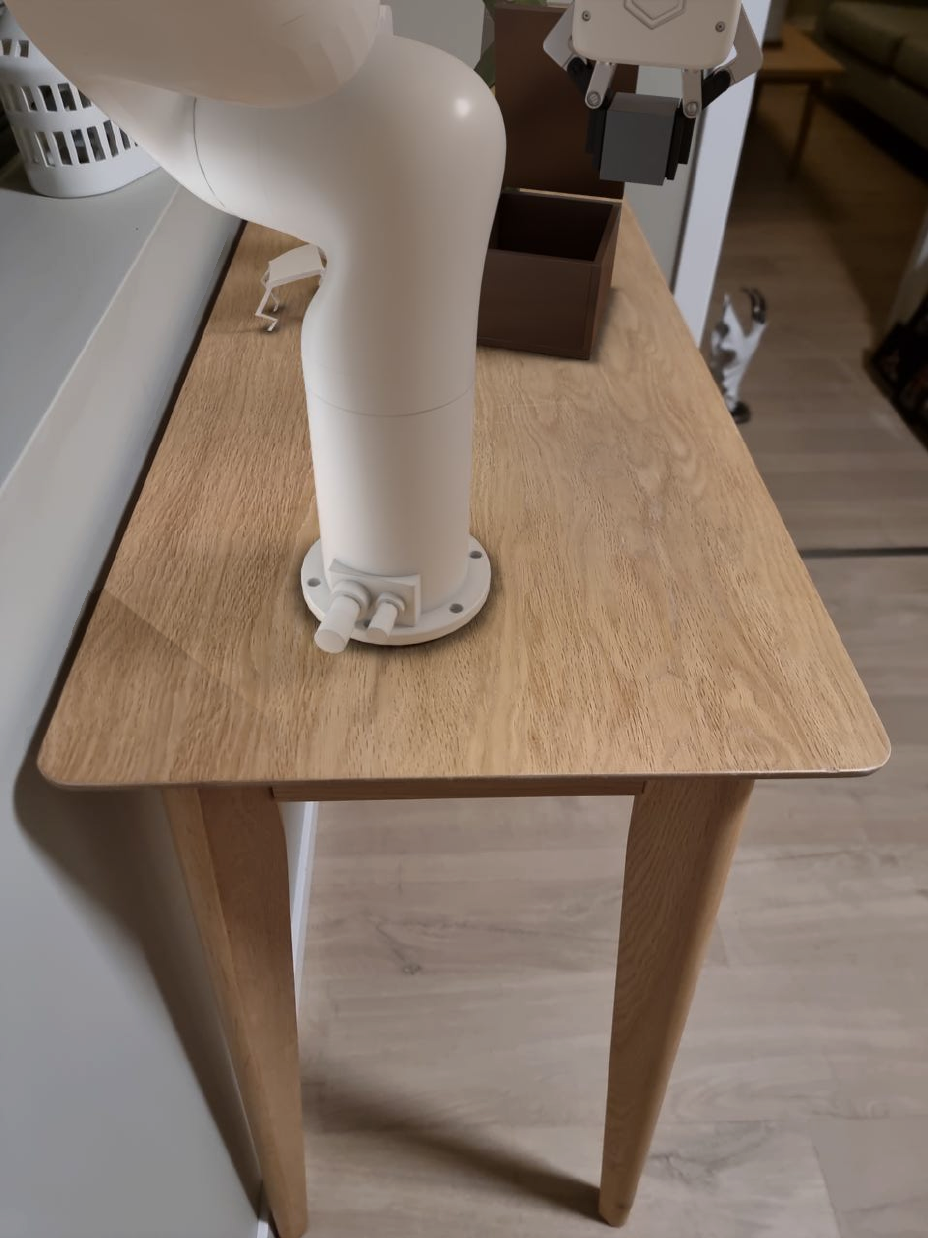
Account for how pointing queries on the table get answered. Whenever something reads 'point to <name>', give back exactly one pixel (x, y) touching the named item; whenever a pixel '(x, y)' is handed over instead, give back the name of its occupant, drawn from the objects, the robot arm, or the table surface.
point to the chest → (547, 273)
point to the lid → (545, 107)
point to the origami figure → (291, 272)
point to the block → (638, 138)
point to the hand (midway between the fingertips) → (635, 166)
